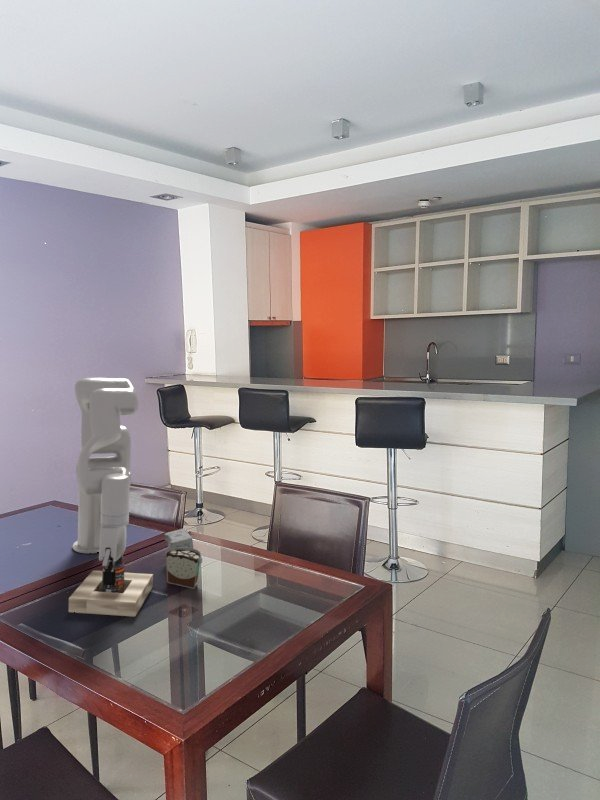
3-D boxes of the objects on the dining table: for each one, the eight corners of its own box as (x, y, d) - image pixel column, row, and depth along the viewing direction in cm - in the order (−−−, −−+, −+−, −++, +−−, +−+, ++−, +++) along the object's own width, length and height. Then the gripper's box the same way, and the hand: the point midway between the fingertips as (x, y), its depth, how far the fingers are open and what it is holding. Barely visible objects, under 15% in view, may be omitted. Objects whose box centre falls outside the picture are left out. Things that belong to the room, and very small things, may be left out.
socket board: (92, 583, 176) (93, 570, 175) (152, 587, 176) (153, 574, 175) (68, 612, 158) (68, 598, 157) (135, 616, 158) (135, 602, 157)
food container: (208, 582, 182) (210, 551, 180) (198, 590, 176) (200, 558, 175) (173, 574, 186) (174, 543, 184) (163, 581, 180) (164, 550, 178)
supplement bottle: (111, 601, 163) (112, 562, 161) (97, 594, 166) (98, 556, 164) (128, 593, 168) (129, 555, 166) (114, 587, 171) (115, 550, 169)
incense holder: (162, 559, 196) (163, 529, 195) (187, 556, 200) (188, 527, 198) (170, 571, 187) (171, 540, 186) (195, 568, 191) (196, 537, 190)
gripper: (111, 507, 172) (110, 566, 175) (90, 527, 155) (88, 592, 158) (137, 509, 172) (135, 567, 175) (118, 529, 155) (116, 594, 158)
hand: (113, 578), depth 166 cm, fingers closed on supplement bottle, 5 cm apart
